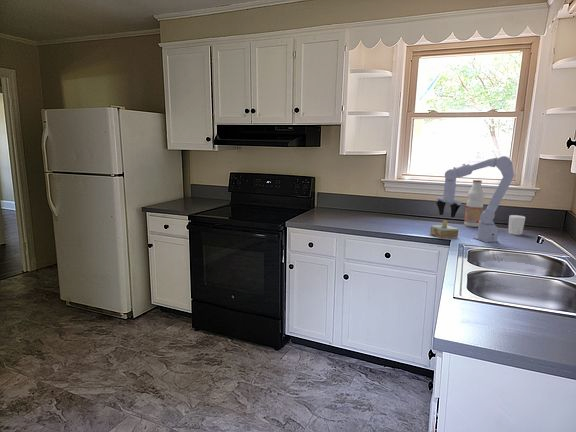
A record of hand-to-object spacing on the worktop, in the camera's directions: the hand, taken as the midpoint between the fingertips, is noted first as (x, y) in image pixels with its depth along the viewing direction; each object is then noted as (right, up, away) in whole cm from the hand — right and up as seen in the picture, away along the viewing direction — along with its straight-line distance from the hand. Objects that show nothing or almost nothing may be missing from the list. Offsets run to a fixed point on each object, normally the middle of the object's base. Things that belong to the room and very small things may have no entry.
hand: (446, 216), depth 219 cm
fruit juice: (+26, -6, +27) cm, 38 cm away
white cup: (+42, -10, +8) cm, 44 cm away
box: (-2, -11, -2) cm, 11 cm away
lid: (-2, -7, -2) cm, 8 cm away
